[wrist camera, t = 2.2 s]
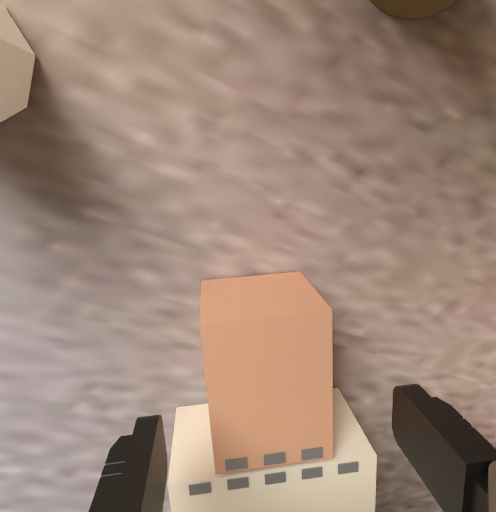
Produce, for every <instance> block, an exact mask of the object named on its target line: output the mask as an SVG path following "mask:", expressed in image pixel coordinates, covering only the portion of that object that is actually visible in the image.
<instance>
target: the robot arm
mask: <svg viewBox="0 0 496 512" xmlns="http://www.w3.org/2000/svg"><path fill="white" fill-rule="evenodd" d="M392 429H393V434H394V437H395V440H396V442H397V444H398V445H399V447H400V448H401V450H402V451H403V453H404V454H405V456H406V457H407V458H408V460H409V461H410V463H411V464H412V466H413V467H414V469H415V470H416V472H417V473H418V475H419V476H420V477H421V479H422V480H423V482H424V483H425V485H426V486H427V488H428V489H429V491H430V492H431V493H432V495H433V496H434V498H435V499H436V501H437V502H438V504H439V505H440V507H441V508H442V510H443V511H444V512H496V449H495V448H494V447H493V446H492V445H491V444H490V443H489V442H488V441H487V440H486V439H485V438H484V437H483V436H482V435H481V434H480V433H479V432H478V431H477V430H476V429H475V428H472V425H471V424H470V423H469V422H468V421H467V420H466V419H463V417H462V416H461V415H460V414H459V413H458V412H457V411H456V410H455V409H454V408H453V407H452V406H451V405H449V404H448V403H446V402H444V401H442V400H441V399H439V398H437V397H432V398H431V397H430V396H429V394H428V393H427V392H426V391H425V390H424V389H423V388H422V387H421V386H420V385H418V384H411V385H402V386H396V387H395V388H394V390H393V409H392ZM101 475H102V476H101V477H100V480H99V483H98V486H97V489H96V492H95V495H94V498H93V501H92V504H91V507H90V509H89V512H162V510H163V502H164V494H165V486H166V479H167V452H166V444H165V437H164V430H163V423H162V417H161V415H153V416H145V417H138V418H137V420H136V423H135V427H134V431H133V434H132V435H127V436H121V437H120V438H119V439H118V440H117V441H116V443H115V444H114V445H113V446H112V447H111V449H110V451H109V454H108V457H107V460H106V463H105V466H104V468H103V471H102V474H101Z"/></svg>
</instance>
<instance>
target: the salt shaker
mask: <svg viewBox="0 0 496 512" xmlns="http://www.w3.org/2000/svg"><path fill="white" fill-rule="evenodd" d="M34 62H35V54H34V52H33V51H32V49H31V48H30V46H29V44H28V43H27V41H26V40H25V38H24V36H23V35H22V33H21V32H20V30H19V29H18V27H17V25H16V24H15V22H14V21H13V19H12V18H11V16H10V14H9V13H8V11H7V10H6V8H5V7H4V5H3V3H1V2H0V122H2V121H4V120H6V119H7V118H9V117H11V116H13V115H14V114H16V113H18V112H20V111H21V110H23V109H25V108H27V106H28V99H29V93H30V87H31V80H32V74H33V68H34Z"/></svg>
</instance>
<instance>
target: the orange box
mask: <svg viewBox="0 0 496 512" xmlns="http://www.w3.org/2000/svg"><path fill="white" fill-rule="evenodd" d="M200 332H201V341H202V351H203V361H204V370H205V380H206V389H207V399H208V409H209V418H210V428H211V438H212V447H213V457H214V466H215V474H221V473H228V472H236V471H243V470H250V469H257V468H264V467H272V466H279V465H286V464H293V463H300V462H308V461H315V460H322V459H329V458H333V345H332V309H331V308H330V306H329V305H328V304H327V303H326V302H325V300H324V299H323V298H322V297H321V296H320V294H319V293H318V292H317V291H316V290H315V288H314V287H313V286H312V285H311V284H310V282H309V281H308V280H307V279H306V278H305V276H304V275H303V274H302V273H301V272H300V271H299V272H288V273H277V274H266V275H255V276H245V277H234V278H223V279H212V280H202V281H201V302H200Z"/></svg>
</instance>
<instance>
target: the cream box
mask: <svg viewBox="0 0 496 512" xmlns="http://www.w3.org/2000/svg"><path fill="white" fill-rule="evenodd" d="M376 467H377V455H376V453H375V452H374V450H373V448H372V446H371V445H370V443H369V441H368V439H367V438H366V436H365V434H364V432H363V431H362V429H361V427H360V425H359V424H358V422H357V420H356V418H355V417H354V415H353V413H352V411H351V410H350V408H349V406H348V404H347V403H346V401H345V399H344V397H343V396H342V394H341V392H340V391H339V389H338V388H333V458H329V459H322V460H315V461H308V462H300V463H293V464H286V465H279V466H272V467H264V468H257V469H250V470H243V471H236V472H228V473H221V474H215V466H214V457H213V447H212V438H211V428H210V418H209V409H208V404H200V405H192V406H184V407H177V409H176V417H175V426H174V434H173V443H172V451H171V460H170V468H169V477H168V492H169V499H170V505H171V512H375V497H376Z"/></svg>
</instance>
